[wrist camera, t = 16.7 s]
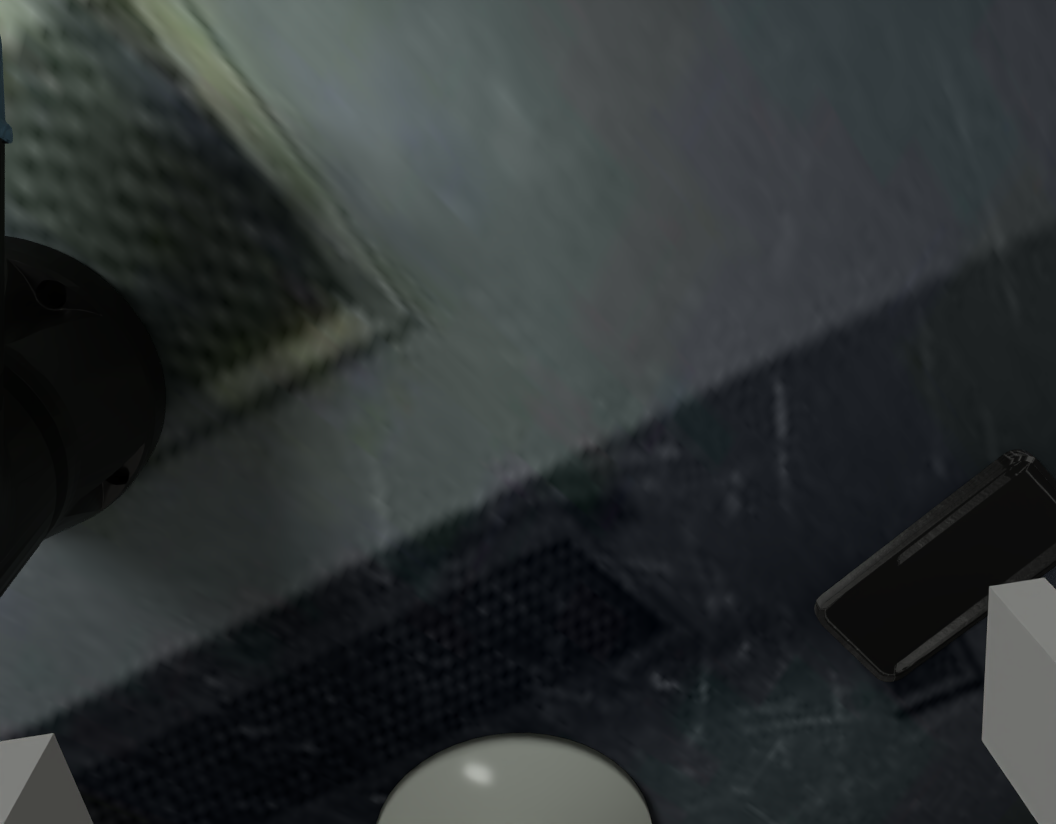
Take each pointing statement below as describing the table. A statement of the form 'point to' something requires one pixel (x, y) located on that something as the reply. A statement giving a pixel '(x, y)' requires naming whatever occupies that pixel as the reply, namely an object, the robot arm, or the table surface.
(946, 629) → the phone
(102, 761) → the table surface
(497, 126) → the table surface
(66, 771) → the robot arm
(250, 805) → the table surface
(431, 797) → the ceramic plate
